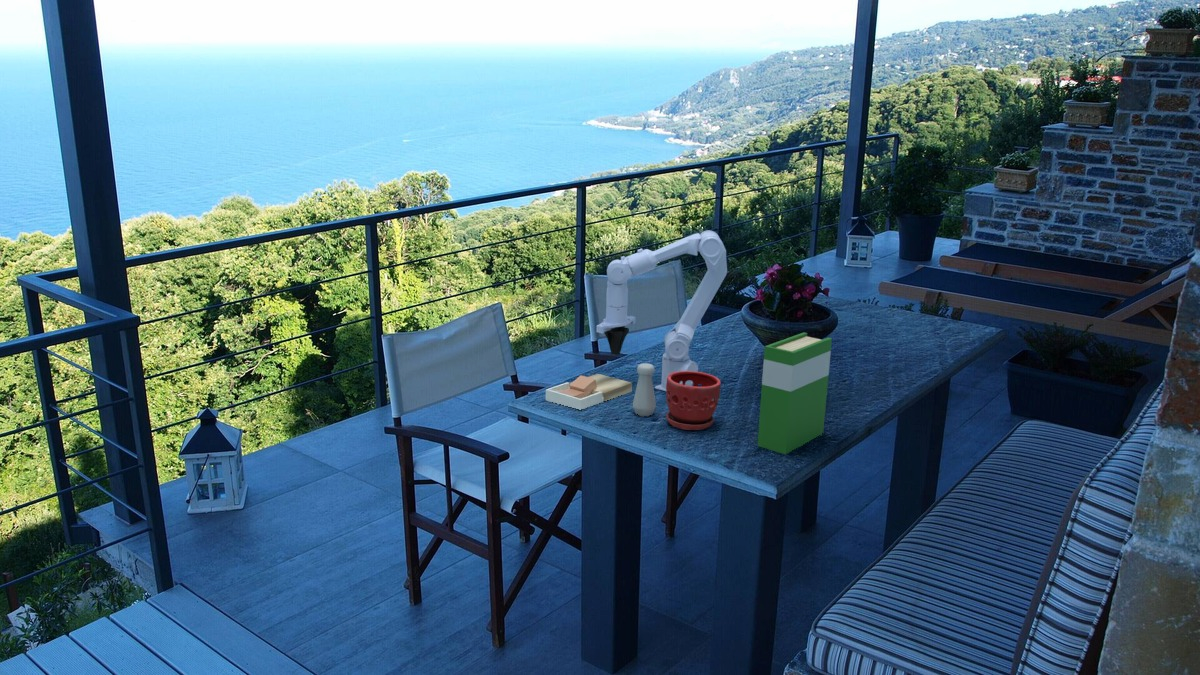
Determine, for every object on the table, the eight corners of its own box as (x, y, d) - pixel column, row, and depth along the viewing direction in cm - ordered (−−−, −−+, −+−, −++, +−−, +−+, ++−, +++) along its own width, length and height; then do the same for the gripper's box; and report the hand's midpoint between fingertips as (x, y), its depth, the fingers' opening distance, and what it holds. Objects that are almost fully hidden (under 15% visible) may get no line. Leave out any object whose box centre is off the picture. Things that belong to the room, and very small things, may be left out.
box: (603, 402, 245) (603, 391, 244) (580, 411, 238) (580, 399, 237) (568, 392, 252) (568, 381, 251) (545, 400, 245) (545, 389, 244)
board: (631, 391, 254) (632, 382, 253) (603, 402, 245) (604, 393, 244) (597, 382, 261) (597, 373, 260) (569, 392, 252) (569, 383, 251)
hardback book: (795, 426, 231) (803, 332, 224) (823, 434, 226) (832, 338, 220) (757, 445, 218) (764, 346, 211) (785, 454, 213) (793, 352, 207)
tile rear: (597, 387, 247) (595, 379, 246) (585, 397, 244) (583, 389, 243) (582, 383, 250) (580, 375, 249) (570, 392, 247) (568, 384, 246)
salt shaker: (639, 419, 233) (641, 369, 230) (628, 412, 238) (629, 362, 235) (659, 415, 236) (661, 366, 232) (648, 408, 241) (650, 360, 237)
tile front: (584, 401, 244) (584, 392, 243) (572, 406, 240) (572, 396, 239) (570, 397, 247) (570, 388, 246) (557, 401, 243) (557, 392, 242)
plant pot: (680, 436, 222) (682, 388, 219) (655, 418, 234) (657, 372, 231) (728, 430, 227) (731, 383, 224) (701, 412, 239) (703, 367, 236)
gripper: (621, 298, 259) (620, 345, 263) (588, 307, 248) (586, 356, 252) (642, 302, 255) (640, 350, 258) (608, 311, 244) (607, 361, 248)
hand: (615, 353), depth 255 cm, fingers closed
